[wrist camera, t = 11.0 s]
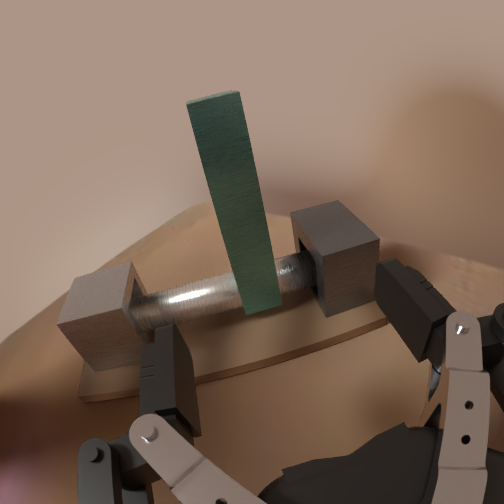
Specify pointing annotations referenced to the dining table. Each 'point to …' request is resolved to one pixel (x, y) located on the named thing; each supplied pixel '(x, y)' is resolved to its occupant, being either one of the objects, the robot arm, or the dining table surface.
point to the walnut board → (244, 342)
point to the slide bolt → (229, 229)
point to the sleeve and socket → (130, 286)
